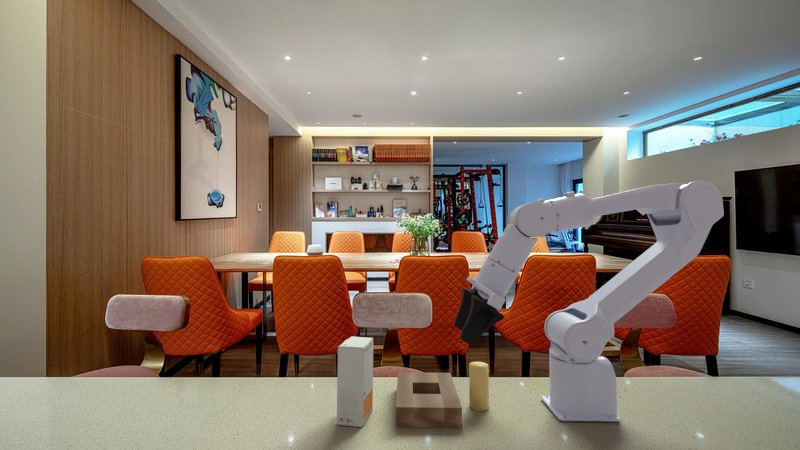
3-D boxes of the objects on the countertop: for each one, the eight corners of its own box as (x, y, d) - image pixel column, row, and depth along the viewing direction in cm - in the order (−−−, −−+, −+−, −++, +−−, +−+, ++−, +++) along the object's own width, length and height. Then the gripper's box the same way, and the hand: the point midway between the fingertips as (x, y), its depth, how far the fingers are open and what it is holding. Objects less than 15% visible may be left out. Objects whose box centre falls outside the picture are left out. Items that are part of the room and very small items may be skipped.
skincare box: (362, 428, 53) (363, 347, 54) (336, 425, 54) (336, 346, 55) (373, 409, 59) (374, 337, 60) (349, 407, 60) (350, 335, 60)
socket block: (450, 388, 67) (450, 372, 67) (462, 428, 53) (461, 407, 53) (397, 388, 68) (397, 372, 68) (395, 427, 54) (395, 407, 54)
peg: (486, 402, 62) (486, 361, 62) (490, 411, 59) (490, 368, 59) (468, 402, 62) (467, 361, 62) (471, 411, 59) (471, 368, 59)
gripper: (474, 252, 68) (438, 313, 68) (491, 257, 53) (446, 335, 53) (505, 270, 68) (470, 331, 68) (532, 281, 53) (486, 359, 53)
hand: (461, 334), depth 61 cm, fingers open, 7 cm apart
